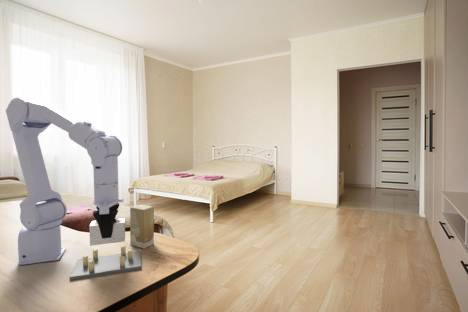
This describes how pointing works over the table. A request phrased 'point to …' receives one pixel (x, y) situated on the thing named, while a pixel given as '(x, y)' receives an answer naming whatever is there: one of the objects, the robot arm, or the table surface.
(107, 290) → the table surface
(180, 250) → the table surface
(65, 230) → the table surface
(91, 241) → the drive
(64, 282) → the table surface
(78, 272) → the grey peg board
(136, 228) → the skincare box
